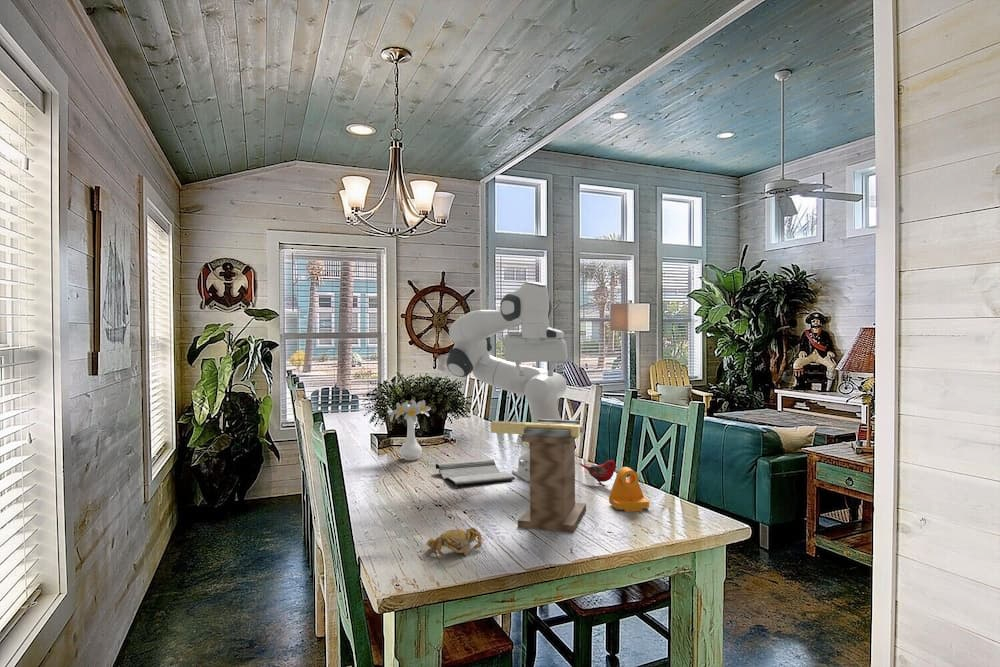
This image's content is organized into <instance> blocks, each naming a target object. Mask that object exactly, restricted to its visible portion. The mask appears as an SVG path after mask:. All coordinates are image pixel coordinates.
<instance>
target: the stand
mask: <svg viewBox="0 0 1000 667" xmlns="http://www.w3.org/2000/svg"><path fill="white" fill-rule="evenodd" d="M534 423H552V424H574V425H580V434H581V433H582V432H583V427H582V426H581V421H580V420H575V419H561V420H554V419H538V422H534ZM577 438H578V437H570V430H559V429H538V428H524V434H521V442H526V443H528V442H530V443H529V445H530V481H529V506H528V508H527V509H526V510H525V511H524V513H523V514H522V515H520V517H519V519H518V520H517V528H523V529H533V530H543V531H550V532H551V531H552V532H563V533H572V534H573V533H575V532H576V528H577V527H578V525H579V523H581V520H582V519H583V517H584V514H585V512H586V511H587V503H586V502H576V471H575V470H576V467H575V466H576V465H575V464H576V463H575V461H576V457H575V455H576V451H575V450H576V449H575V448H576V445H575V443H576V442H575V440H576V439H577Z"/></svg>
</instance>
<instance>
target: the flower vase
mask: <svg viewBox="0 0 1000 667" xmlns="http://www.w3.org/2000/svg"><path fill="white" fill-rule="evenodd" d="M410 401H411V404H410V403H408V400H406V401H405V402H403V403H402V404H400V402H397V403H395V404H396V409H394V410H393V409H391V407H390V406H389V405H388V404H387V405H386V406H387V409H388V410H387V412H386V413H387V414H388V416H389V421H390V423H392V422H393V419H395V420H397V419H398V418H400V416H401V415H404V416H403V419H404V420H406V425H407V427H406V428H407V429H406V430H407V432H406V439H405V441H404V444H402V446H401V447H400V450H399V452H400V455H401V456H402V457H403V459H404V460H405V461H416V460H419V458H420V457H419V456H421V455H422V454H423V453H422V452H423V449H422V446H421V445H420V444H419V442H418V441H417V439H416V435H415V434H416V433H415V422H416V421H417V415H419V414H421V415H423V414H425V415H426V416H427V417H430V413H429V411H430V410H431V409H432V408H431V406H428V405H426V400H424V399H423V400H420V401H418V402H416V400H414V399H411V400H410ZM394 417H395V418H394Z"/></svg>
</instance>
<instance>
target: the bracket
mask: <svg viewBox="0 0 1000 667" xmlns="http://www.w3.org/2000/svg"><path fill="white" fill-rule="evenodd" d="M627 476H629V477H628V478H627ZM626 478H627V479H626ZM639 479H640V478H639V474H638V473H637V471H634V470H633V469H632V468H631V467H628V466H623V467H621V468H619V470H618V471H617V473H616V476H615V479H614V482H613V484H612V487H611V490H610V492H609V495H608V496H609V497H608V502H609V504H610V505H611V506H612V507H613V508H614V509H615V510H622V511H624V512H641V511H643V509H648V508H650V500H649V499H647V498H646V497H645V495H644V493H643V491H642V490H643V489H642V488H641V485H640V482H639V481H640V480H639Z"/></svg>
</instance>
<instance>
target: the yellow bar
mask: <svg viewBox="0 0 1000 667" xmlns="http://www.w3.org/2000/svg"><path fill="white" fill-rule="evenodd" d="M580 427H581V424H580V425H574V424H552V423H532V422H528V421H527V422H526V421H525V422H524V421H505V420H502V421H501V420H493V421H491V422H490V433H492V434H493V433H494V434H507V435H508V434H511V435H524V428H538V429H559V430H570V437H577V438H579V437H580V436H581V433H580Z"/></svg>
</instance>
